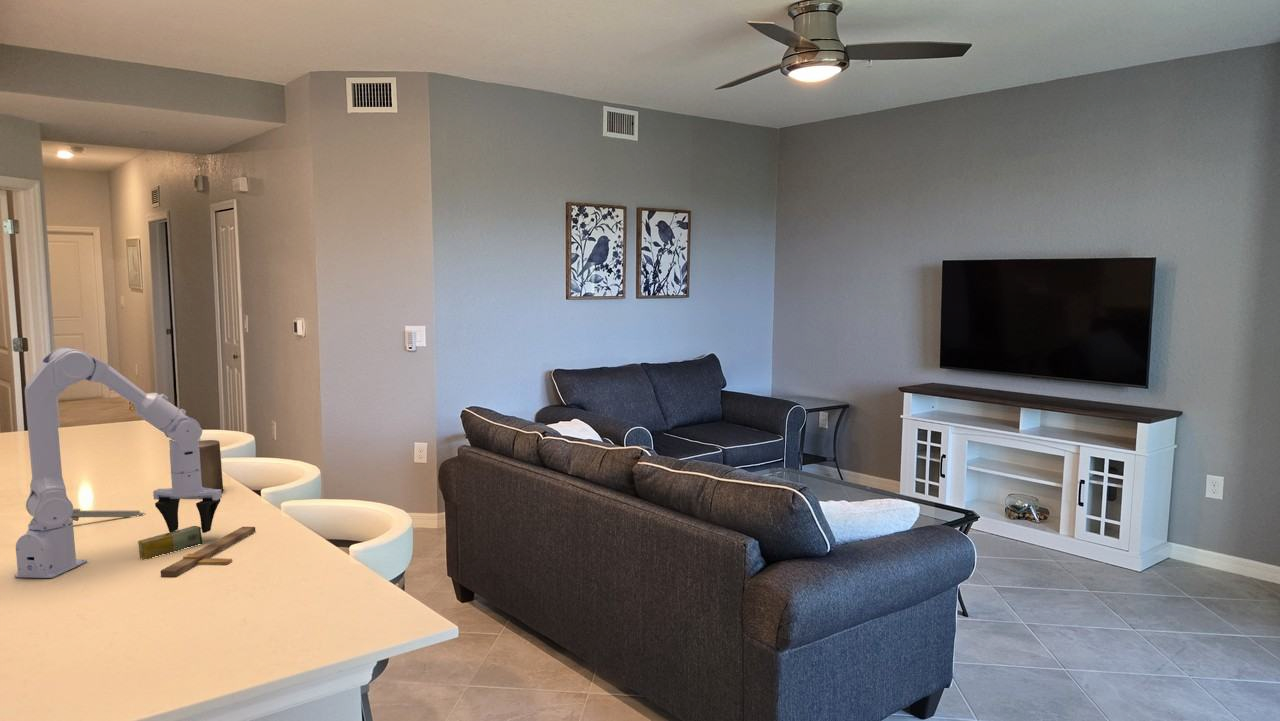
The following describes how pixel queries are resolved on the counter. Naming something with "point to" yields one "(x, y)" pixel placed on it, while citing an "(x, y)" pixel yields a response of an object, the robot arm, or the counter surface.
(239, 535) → the brown wooden cross
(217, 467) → the pillar candle
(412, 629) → the counter surface
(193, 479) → the robot arm
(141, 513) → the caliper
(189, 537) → the medication box
